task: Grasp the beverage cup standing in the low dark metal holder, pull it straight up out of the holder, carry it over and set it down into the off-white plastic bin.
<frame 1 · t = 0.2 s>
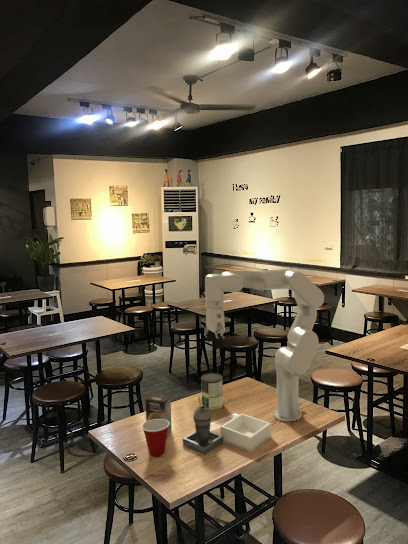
hand: (214, 344, 183), 37 cm above the table, tool pointing down, fingers open, 9 cm apart
coffee box: (159, 434, 184), on the table
bin: (246, 438, 178), on the table
beverage cup: (203, 444, 175), resting in holder
coffee can: (212, 405, 210), on the table
plastic cup: (156, 453, 169), on the table
holder: (203, 444, 175), on the table
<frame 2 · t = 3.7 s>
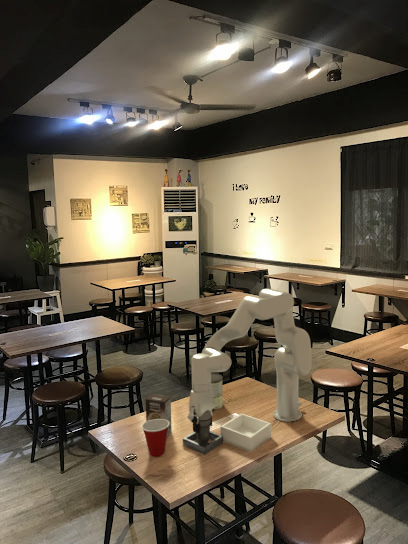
hand: (202, 428, 174), 7 cm above the table, tool pointing down, fingers closed on beverage cup, 6 cm apart
beverage cup: (203, 444, 175), resting in holder, touching gripper
everything else where it was.
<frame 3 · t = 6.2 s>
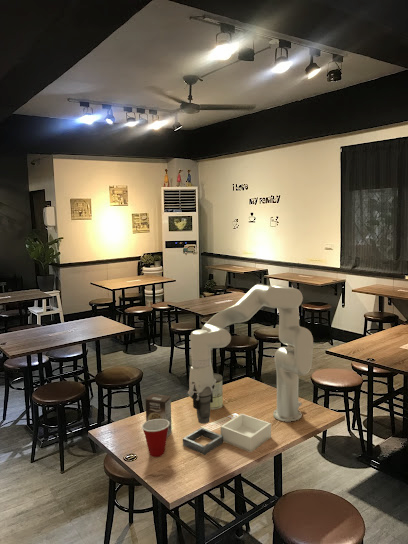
hand: (203, 404, 173), 16 cm above the table, tool pointing down, fingers closed on beverage cup, 6 cm apart
beverage cup: (203, 421, 174), point 9 cm above the table, touching gripper
everything else where it was.
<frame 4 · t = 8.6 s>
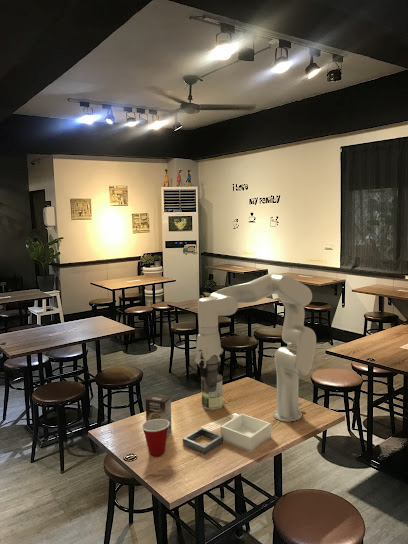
hand: (210, 373, 172), 29 cm above the table, tool pointing down, fingers closed on beverage cup, 6 cm apart
beverage cup: (210, 390, 172), point 22 cm above the table, touching gripper
everything else where it was.
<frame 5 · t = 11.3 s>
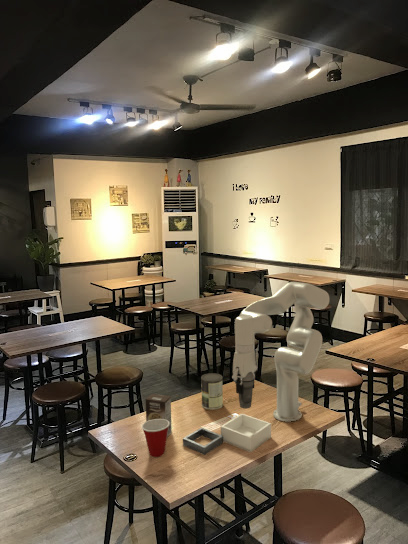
hand: (245, 390, 175), 21 cm above the table, tool pointing down, fingers closed on beverage cup, 6 cm apart
beverage cup: (245, 406, 176), point 14 cm above the table, touching gripper
everything else where it was.
when the fingers open (10 cm above the table, at t = 13.9 s): beverage cup drops 2 cm, resting on bin.
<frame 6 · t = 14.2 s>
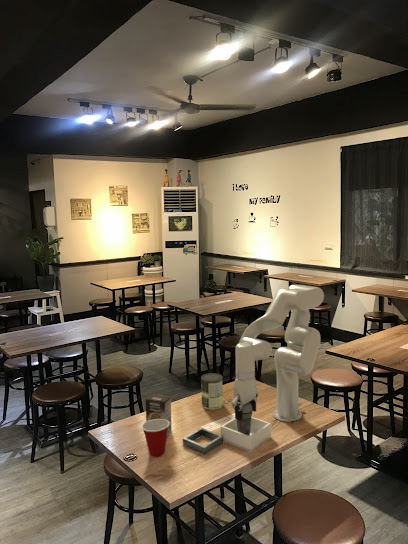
hand: (245, 414, 177), 10 cm above the table, tool pointing down, fingers open, 9 cm apart
beverage cup: (244, 437, 177), point 1 cm above the table, touching bin, gripper
everything else where it was.
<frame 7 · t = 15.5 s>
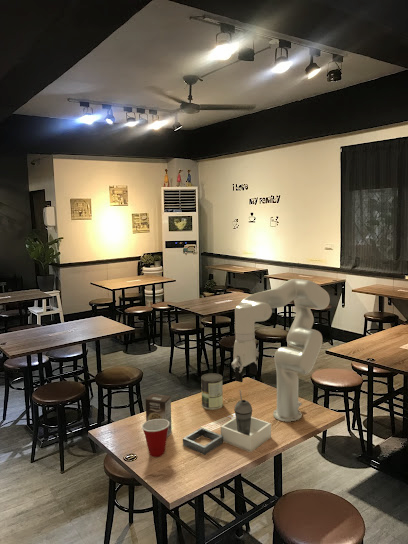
hand: (246, 377, 175), 26 cm above the table, tool pointing down, fingers open, 9 cm apart
beverage cup: (243, 437, 177), point 1 cm above the table, touching bin
everything else where it was.
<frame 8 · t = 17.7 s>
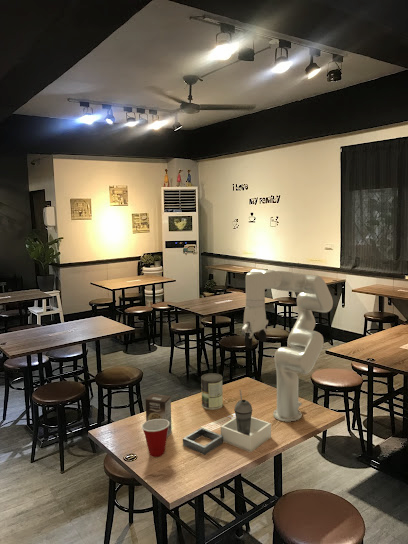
hand: (255, 344, 177), 38 cm above the table, tool pointing down, fingers open, 9 cm apart
nothing on the table moved.
at the end: beverage cup inside the target area on the bin (1.1 cm from its centre), point 0.8 cm above the bin's base; the gripper is holding nothing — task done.
